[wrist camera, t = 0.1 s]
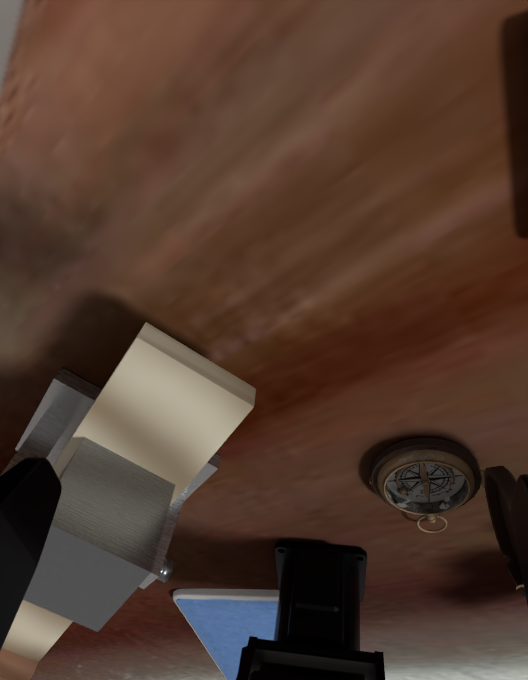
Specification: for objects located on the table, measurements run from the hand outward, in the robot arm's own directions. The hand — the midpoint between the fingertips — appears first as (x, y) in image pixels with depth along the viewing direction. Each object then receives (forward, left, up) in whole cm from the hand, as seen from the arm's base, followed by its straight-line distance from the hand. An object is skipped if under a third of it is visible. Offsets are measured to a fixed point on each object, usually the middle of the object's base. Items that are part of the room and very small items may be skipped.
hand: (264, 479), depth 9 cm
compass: (-17, -7, -15) cm, 24 cm away
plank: (-16, +13, -8) cm, 22 cm away
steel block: (-13, +10, -8) cm, 18 cm away
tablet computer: (-42, +5, -15) cm, 45 cm away
